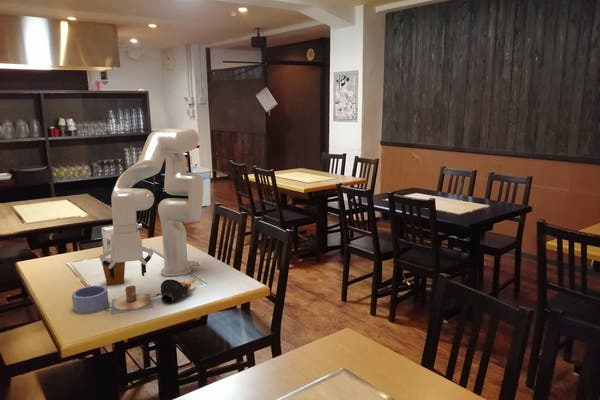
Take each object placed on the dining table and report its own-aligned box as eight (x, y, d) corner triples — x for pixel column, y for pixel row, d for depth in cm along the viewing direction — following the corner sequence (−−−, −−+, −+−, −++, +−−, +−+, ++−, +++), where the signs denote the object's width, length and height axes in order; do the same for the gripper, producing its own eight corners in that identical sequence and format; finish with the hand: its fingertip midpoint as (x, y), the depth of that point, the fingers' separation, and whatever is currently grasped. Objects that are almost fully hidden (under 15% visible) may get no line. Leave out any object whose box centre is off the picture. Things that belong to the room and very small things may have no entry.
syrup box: (115, 254, 215) (113, 224, 212) (120, 257, 210) (118, 227, 208) (103, 257, 211) (100, 227, 208) (108, 260, 207) (105, 229, 204)
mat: (149, 295, 167) (149, 293, 167) (152, 309, 155) (152, 307, 155) (111, 301, 162) (111, 299, 162) (112, 315, 150) (111, 314, 150)
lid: (148, 294, 166) (147, 279, 165) (151, 307, 155) (150, 291, 154) (113, 299, 162) (111, 283, 160) (113, 313, 151) (112, 296, 150)
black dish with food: (149, 293, 157) (168, 262, 172) (167, 316, 161) (184, 283, 177) (171, 286, 154) (188, 255, 169) (188, 309, 158) (203, 276, 174)
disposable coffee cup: (109, 290, 172) (106, 260, 169) (98, 283, 178) (95, 254, 176) (132, 283, 179) (130, 254, 176) (121, 277, 185) (119, 249, 183)
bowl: (108, 299, 163) (107, 283, 162) (108, 311, 153) (107, 295, 152) (75, 304, 159) (73, 288, 158) (72, 317, 149) (70, 300, 148)
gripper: (151, 224, 160) (153, 270, 162) (97, 228, 153) (101, 276, 156) (153, 228, 153) (155, 277, 156) (97, 233, 146) (100, 283, 149)
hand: (128, 276), depth 156 cm, fingers open, 9 cm apart
